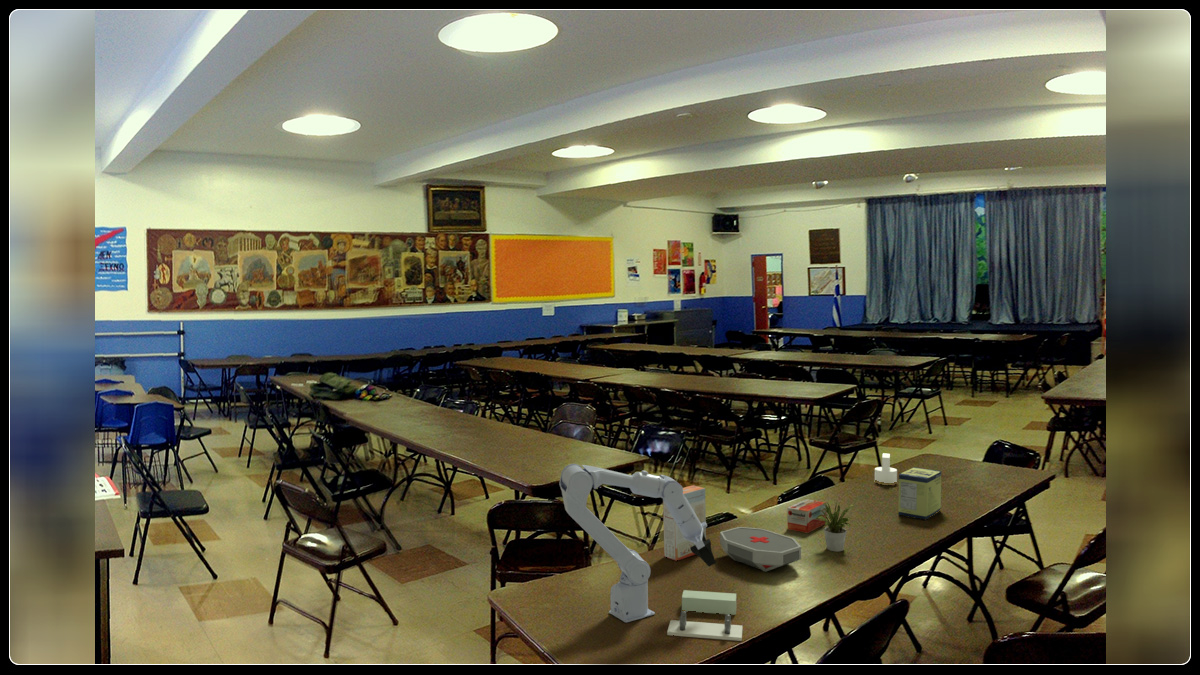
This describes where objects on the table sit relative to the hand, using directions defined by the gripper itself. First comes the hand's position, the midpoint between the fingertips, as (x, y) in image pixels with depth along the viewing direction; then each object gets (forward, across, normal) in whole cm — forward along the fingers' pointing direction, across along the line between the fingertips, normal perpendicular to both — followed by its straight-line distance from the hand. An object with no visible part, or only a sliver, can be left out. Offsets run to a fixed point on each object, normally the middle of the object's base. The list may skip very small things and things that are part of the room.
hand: (709, 557), depth 213 cm
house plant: (+39, +38, -34) cm, 64 cm away
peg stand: (+7, -18, +9) cm, 22 cm away
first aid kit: (+25, +28, -11) cm, 39 cm away
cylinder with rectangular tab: (+74, +118, -76) cm, 159 cm away
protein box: (+66, +73, -72) cm, 122 cm away
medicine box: (+42, +62, -32) cm, 82 cm away
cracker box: (+15, +38, +8) cm, 42 cm away
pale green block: (+11, -5, +7) cm, 13 cm away
